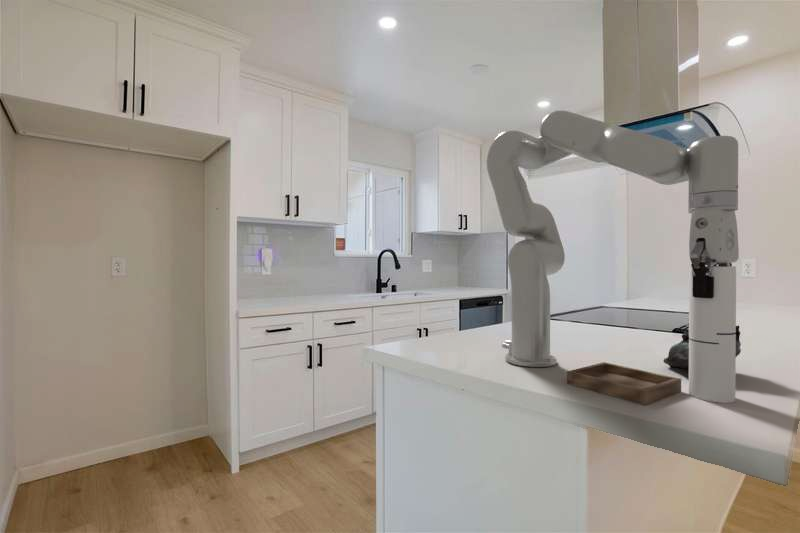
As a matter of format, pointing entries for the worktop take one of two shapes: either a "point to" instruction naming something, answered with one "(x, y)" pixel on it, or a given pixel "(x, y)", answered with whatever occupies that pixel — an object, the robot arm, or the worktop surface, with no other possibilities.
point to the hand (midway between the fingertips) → (711, 296)
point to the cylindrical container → (713, 339)
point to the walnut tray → (625, 382)
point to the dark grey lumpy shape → (681, 351)
